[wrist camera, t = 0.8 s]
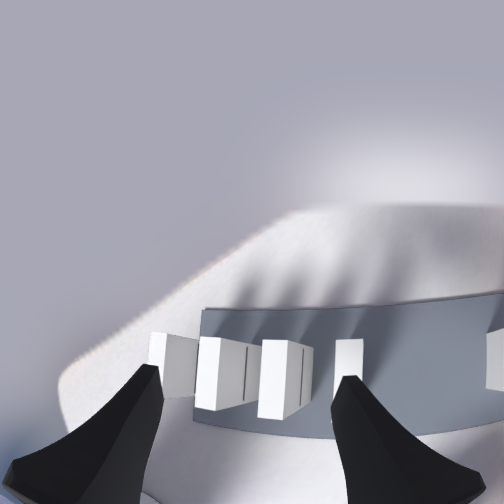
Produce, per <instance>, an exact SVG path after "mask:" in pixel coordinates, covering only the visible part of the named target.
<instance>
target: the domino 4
mask: <svg viewBox="0 0 504 504" xmlns="http://www.w3.org/2000/svg"><path fill="white" fill-rule="evenodd" d="M486 338H487V372H486V389H492V390H498V391H504V328H503V329H500V330H497V331H494V332H491V333H487V334H486Z"/></svg>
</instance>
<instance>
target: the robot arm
mask: <svg viewBox="0 0 504 504" xmlns="http://www.w3.org/2000/svg"><path fill="white" fill-rule="evenodd" d="M163 403H164V395H163V390H162V384H161V379H160V373H159V367H158V366H155V365H149V364H143V365H141V366H140V368H139V369H138V370H137V371H136V372H135V374H134V375H133V376H132V377H131V378H130V379H129V380H128V382H127V383H126V384H125V385H124V386H123V387H122V388H121V389H120V390H119V391H118V392H117V393H116V394H115V395H114V397H113V398H112V399H111V400H110V401H109V402H108V403H106V404H105V405H104V406H103V407H102V408H101V409H100V410H99V411H98V412H97V413H96V414H95V415H93V416H92V417H91V418H90V419H89V420H87V421H86V422H85V423H84V424H82V425H81V426H80V427H78V428H77V429H75V430H74V431H72V432H71V433H69V434H68V435H66V436H65V437H63V438H62V439H60V440H58V441H57V442H55V443H53V444H51V445H49V446H47V447H45V448H43V449H41V450H39V451H37V452H34V453H32V454H29V455H26V456H24V457H21V458H18V459H15V460H13V461H12V463H11V465H10V467H9V469H8V471H7V473H6V475H5V477H4V480H3V482H2V486H3V487H4V488H5V489H6V490H7V491H8V492H9V493H11V494H12V495H13V496H14V497H16V498H17V499H18V500H20V501H21V502H22V503H24V504H140V497H141V490H142V484H143V478H144V472H145V468H146V464H147V461H148V457H149V454H150V451H151V448H152V445H153V442H154V438H155V435H156V432H157V429H158V426H159V423H160V419H161V414H162V408H163ZM330 409H331V418H332V425H333V431H334V435H335V439H336V442H337V446H338V450H339V454H340V458H341V461H342V465H343V469H344V474H345V479H346V487H347V496H348V504H468V503H470V502H471V501H473V500H474V499H475V498H477V497H478V496H479V495H481V494H482V493H483V492H484V491H485V489H486V486H485V484H484V482H483V479H482V477H481V475H480V473H479V472H477V471H474V470H471V469H469V468H466V467H464V466H461V465H459V464H457V463H455V462H453V461H451V460H449V459H447V458H445V457H444V456H442V455H440V454H439V453H437V452H436V451H434V450H432V449H431V448H429V447H428V446H427V445H425V444H424V443H422V442H421V441H420V440H419V439H417V438H416V437H415V436H414V435H412V434H411V433H410V432H409V431H408V430H407V429H405V428H404V427H403V426H402V425H401V424H400V423H399V422H398V421H397V420H396V419H395V418H394V417H393V416H392V415H391V414H390V413H389V412H388V411H387V409H386V408H385V407H384V406H383V405H382V404H381V403H380V402H379V401H378V399H377V398H376V397H375V396H374V395H373V394H372V392H371V391H370V390H369V389H368V388H367V386H366V385H365V384H364V383H363V382H362V381H361V379H360V378H359V377H358V376H357V375H348V376H343V377H342V379H341V382H340V385H339V387H338V390H337V392H336V395H335V397H334V399H333V402H332V404H331V407H330ZM0 504H15V503H13V502H11V501H10V500H8V499H7V498H5V497H4V496H2V495H1V494H0Z"/></svg>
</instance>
